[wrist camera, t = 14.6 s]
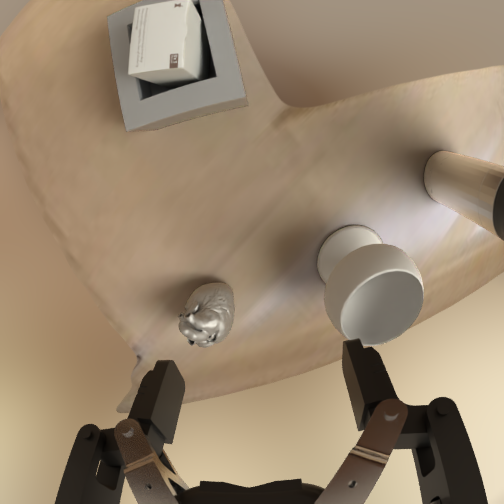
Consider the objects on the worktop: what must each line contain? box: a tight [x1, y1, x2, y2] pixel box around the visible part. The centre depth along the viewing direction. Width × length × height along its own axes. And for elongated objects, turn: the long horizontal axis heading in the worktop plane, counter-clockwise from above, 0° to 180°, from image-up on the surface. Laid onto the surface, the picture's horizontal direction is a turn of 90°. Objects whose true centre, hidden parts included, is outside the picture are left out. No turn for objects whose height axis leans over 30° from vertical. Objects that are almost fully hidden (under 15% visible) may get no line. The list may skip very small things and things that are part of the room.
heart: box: [178, 283, 235, 347], centre depth 43 cm, size 10×10×12 cm
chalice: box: [317, 225, 424, 346], centre depth 38 cm, size 14×14×15 cm
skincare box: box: [128, 0, 210, 89], centre depth 25 cm, size 8×6×15 cm
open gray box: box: [107, 0, 248, 132], centre depth 28 cm, size 14×17×10 cm
